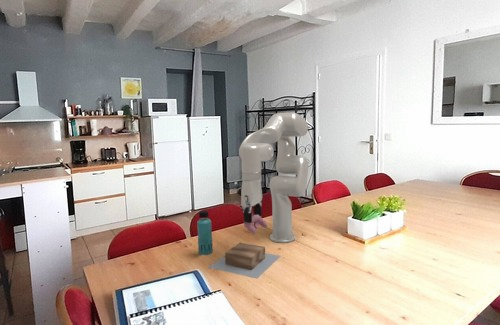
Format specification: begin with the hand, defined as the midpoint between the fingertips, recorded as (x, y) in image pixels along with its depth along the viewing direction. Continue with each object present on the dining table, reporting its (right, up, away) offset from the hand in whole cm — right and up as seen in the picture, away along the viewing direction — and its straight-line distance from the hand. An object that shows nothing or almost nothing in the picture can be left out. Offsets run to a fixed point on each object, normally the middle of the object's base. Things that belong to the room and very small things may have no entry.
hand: (253, 218), depth 130 cm
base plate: (-3, -19, +3) cm, 20 cm away
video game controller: (+1, -5, 0) cm, 5 cm away
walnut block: (-3, -18, +3) cm, 19 cm away
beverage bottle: (-21, -19, +14) cm, 32 cm away
